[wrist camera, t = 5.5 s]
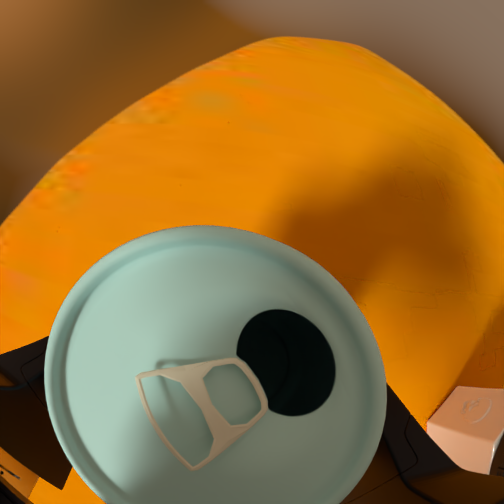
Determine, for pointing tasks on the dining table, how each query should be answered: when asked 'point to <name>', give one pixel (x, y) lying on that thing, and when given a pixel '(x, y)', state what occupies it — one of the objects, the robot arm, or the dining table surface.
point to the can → (214, 374)
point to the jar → (471, 429)
